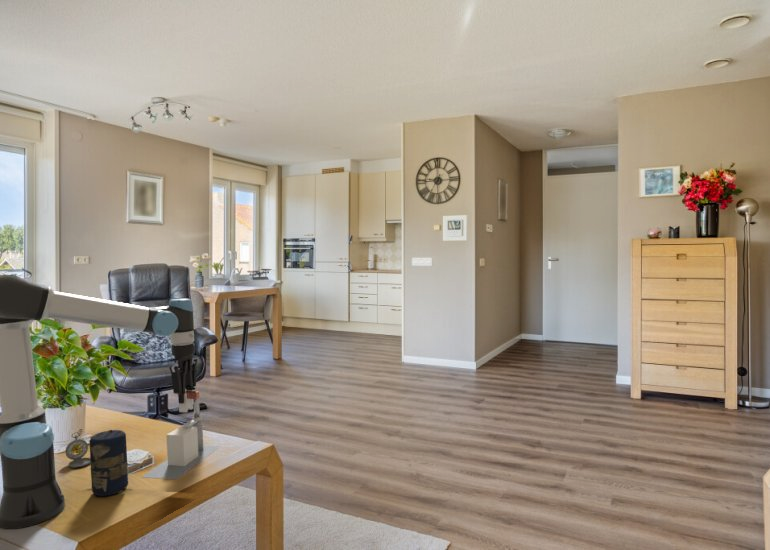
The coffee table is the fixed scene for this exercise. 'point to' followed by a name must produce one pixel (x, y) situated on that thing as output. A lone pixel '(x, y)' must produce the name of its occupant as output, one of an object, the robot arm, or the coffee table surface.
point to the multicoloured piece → (196, 417)
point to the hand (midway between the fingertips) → (186, 410)
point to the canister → (108, 462)
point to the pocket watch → (77, 458)
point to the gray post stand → (176, 471)
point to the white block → (182, 446)
